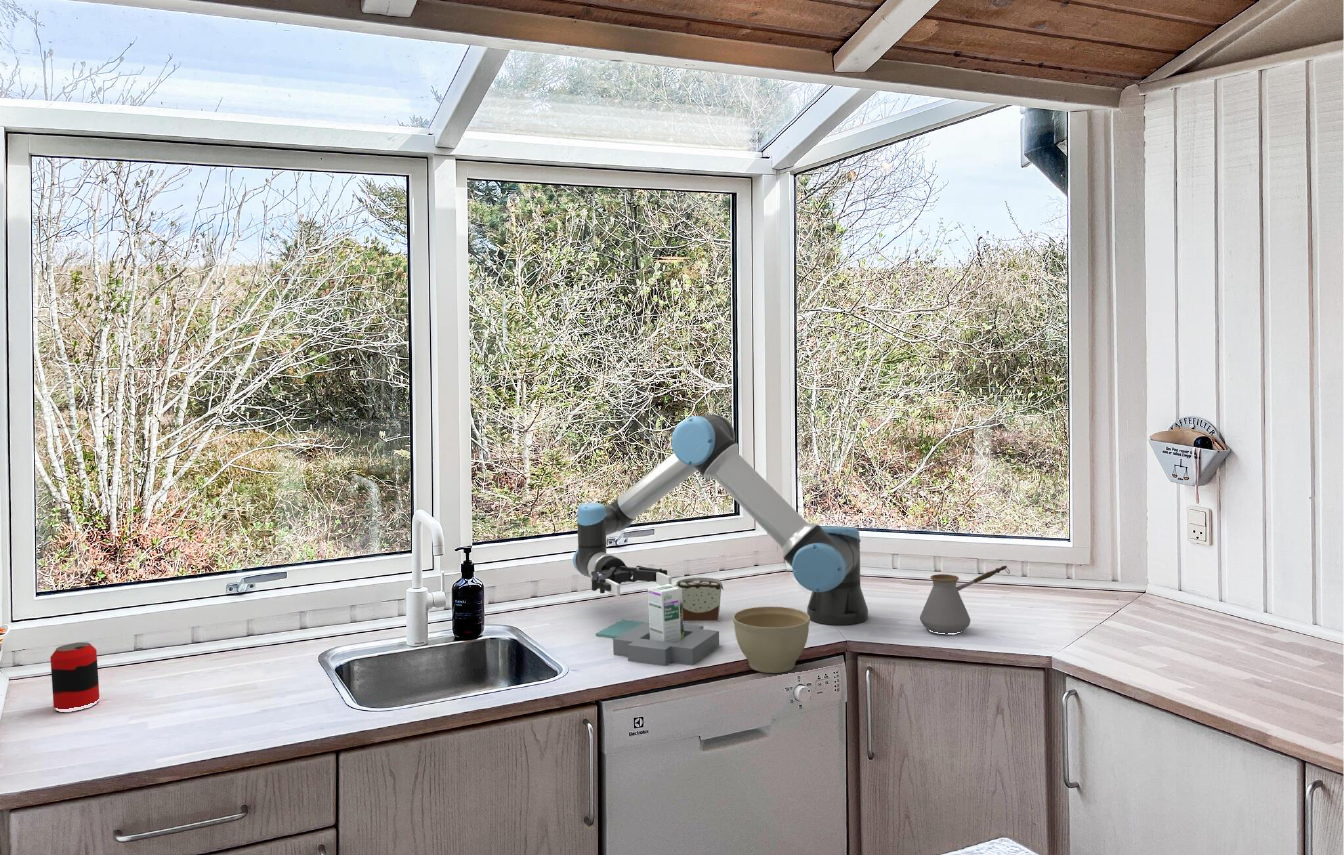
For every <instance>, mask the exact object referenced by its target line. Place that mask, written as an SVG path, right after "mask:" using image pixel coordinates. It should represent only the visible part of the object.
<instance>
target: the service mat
mask: <svg viewBox="0 0 1344 855" xmlns="http://www.w3.org/2000/svg"><path fill="white" fill-rule="evenodd" d="M642 623H649V621H639V620H638V621H637V620H631V619H630V620H628V619H621V620H619V621H617V622H615V623H614V624H611V625H609V626H607V627H605V628H604V629H602V630H600V631H597V632H596V633H595V637H600V638H601V637H602V638H611V639H614V638H616V637H618V636H620V635H622V634H623V633H625V632H627V631H629V630H631V629H633V628H634V627H636V626H638V625H640V624H642Z"/></svg>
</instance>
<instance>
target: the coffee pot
mask: <svg viewBox="0 0 1344 855" xmlns="http://www.w3.org/2000/svg"><path fill="white" fill-rule="evenodd" d="M1004 570H1005V572H1006V573H1007V574H1008V575H1009V574H1011V570H1010V569H1009V568H1008V566H1007V565H1002V566H1000V567H996V568H995V569H994V570H991V571H987V572H985V573H983V574H982V575H979V576H977V577H976V578H974V579H972V580H969V581H968V582H965V583H963V584H961V585H957V582H958V581H959V579H960V577H959V576H957V575H954V574H948V573H947V574H946V573H945V574H943V573H942V574H933V575H931V576H930V579H931V581H932V585H933V586H932V587H931V588H932V589H931V590H930V592H929V594H928V598H927V599H926V602H925V604H924V606H923V609H922V611H921V614H920V616H919V620H920V623H921V624H922V625H923V627H924V628H926V629H927V630H928V629H929V630H931V631H933V632H938V633H945V634H948V633H957V632H961V631H962V632H963V631H965V630H967V628H969V626H970V624H971V618H970V614H969V613H968V609H967V608H966V606H965V604H964V601H963V600H962V597H961V595H960V592H959V591H961V590H963V589H965V588H967V587H969V586H971V585H973V584H977V583H979V582H981V581H984V580H987V579H988V578H992V576H994V575H995V574H1000V573H1001V571H1004Z"/></svg>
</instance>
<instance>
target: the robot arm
mask: <svg viewBox="0 0 1344 855" xmlns="http://www.w3.org/2000/svg"><path fill="white" fill-rule="evenodd" d="M671 448H672V451H673V453H672V454H671V455H670V456H668V457H667V458H665V460H663V461H662V462H661V463H660V464H657V466H656V467H655V468H653V469H652V470H650V471H649V472H648V473H647V474H646V475H644V476H643V477H642V478H641V479H639V481H636V483H634V484H633V485H632V486H631V487H630V488H628V489H627V490H626V491H624V492H623V493H622V494H620V496H618V497H617V498H616V499H614V500H613V501H612V502H611V503H609V504H608V505H607V506H605V504H603V503H601V502H599V503H597V502H589V503H582V504H580V505H578V507H577V517H576V522H577V525H576V526H577V550H576V551H575V553H574V554H573V556H572V562H573V563H572V564H573V567H574V568H575V570H577V571H578V572H579V573H580V574H581V575H582V576H584V577H588V578H591V579H590V581H591V591H593V592H596V591H597V590H598V589H599V593H600V594H606V592H608V593H609V594H612V595H614V596H616V597H621V584H622V583H627V582H628V583H635V582H637V581H640V582H651V583H652V582H654V583H656V584H657V585H658V586H662V585H666V584H671V585H673V584H672V583H673V580H672V576H670V575H668V570H667V569H663V568H653V567H646V566H642V565H636V566H635V567H631V566H627V565H626V564H625V562H624V561H623V560H622V559H620V557H617V556H614V555H612V554H610V553H607V536H608V535H612V534H614V533H617V532H621V531H624V530H626V529H627V528H629V527H630V526H631V525H632V523H633V521H635V519H636V518H638V517H639V516H641V515H642V514H643V513H645V511H647V510H648V509H650V507H652V506H653V505H655V504H656V503H657V502H658V501H660V500H661V499H662V498H664V497H665V496H666V495H667V494H669V493H670V492H672V491H673V490H674V489H675V488H676V487H678V486H679V485H681V484H682V483H683V482H684V481H685V480H687V479H689V478H690V477H691V476H692V475H694V474H695V473H696V472H699V473H700V474H701V475H702V476H703V477H704V478H705V479H706V478H707V479H714V480H715V481H716V482H717V483H718V484H719V485H720V486H721V488H723V489H724V490H725V491H726V492H727V493H728V495H730V496H731V497H732V498H733V499H734V501H736V502H737V504H738V505H740V506H741V508H743V510H745V511H746V513H747V514H748V515H749V516H751V518H752V519H753V520H754V521H755V522H756V523H757V524H758V525H759V526H760V527H761V528H762V529H763V530H764V531H765V532H766V533H767V534H768V535H769V536H770V537H771V538H772V539H773V541H775V542H776V543H777V544H778V545H779V547H781V549H782V558H783V559H784V560H785V561H786V562H787V564H788V565H789V566H790V567H792V568H791V569H792V573H793V577H794V578H795V580H796V581H797V583H798V584H799V585H800V586H801V587H803V588H804V589H805V590H808V591H811V594H810V597H809V600H808V604H807V608H806V613H807V614H808V615H809V616H810V621H813V622H815V623H819V624H825V625H832V626H833V625H835V626H844V625H845V626H847V625H854V624H855V625H856V624H860V623H863V622H865V621H867V620H868V619H869V609H868V605H867V602H866V599H865V597H864V593H863V590H862V586H861V537H860V531H859V529H858V528H856V527H852V526H851V527H850V526H831V525H830V526H826V525H825V526H820V525H819V524H818V523H810V522H807V521H806V520H805V519H804V518H803V516H801V514H799V513H798V512H797V510H796V509H794V507H792V505H791V504H790V503H789V502H787V501H786V500H785V499H784V498H783V497H782V496H781V495H780V493H778V492H777V491H776V490H775V489H774V487H772V486H771V485H770V483H768V482H767V481H766V479H765V478H763V476H761V475H760V473H758V472H757V471H756V470H755V468H753V467H752V466H751V465H750V463H749V462H747V461H746V460H745V458H743V457H742V456H741V455H740V453H739V444H738V442H736V434H735V430H734V427H733V425H732V424H731V423H730V421H729V420H728V419H726V418H725V417H723V416H721V415H718V414H706V415H700V416H699V415H693V416H690V417H688V418H685V419H683V420H682V421H680V422H679V423H678V424H677V425H676V427H675V428H674V431H673V433H672V435H671Z"/></svg>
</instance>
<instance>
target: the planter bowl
mask: <svg viewBox="0 0 1344 855" xmlns="http://www.w3.org/2000/svg"><path fill="white" fill-rule="evenodd" d="M732 621H733V624H734V634H735V638H736V641H737V644H738V647H739V648H740V651H741V652H742V654H743V655H744V657H745V658H746V659H747V661H748V664H749V667H750V669H752V670H754V671H756V672H760V673H768V674H778V673H779V674H780V673H786V672H789V671H792V670H793V669H794V668H795V666H796V662H797V660H798V659H799V657H800V656H801V655H802V653H803V652H804V649H805V647H806V644H807V641H808V637H809V631H810V630H809V629H810V622H811V620H810V616H809V615H808V614H807V612H806V611H803V610H800V609H797V608H791V607H787V606H786V607H784V606H771V605H770V606H757V607H755V606H754V607H749V608H743V609H741V610H738V611H736V612H735V613H734V614H733V615H732Z"/></svg>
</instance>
